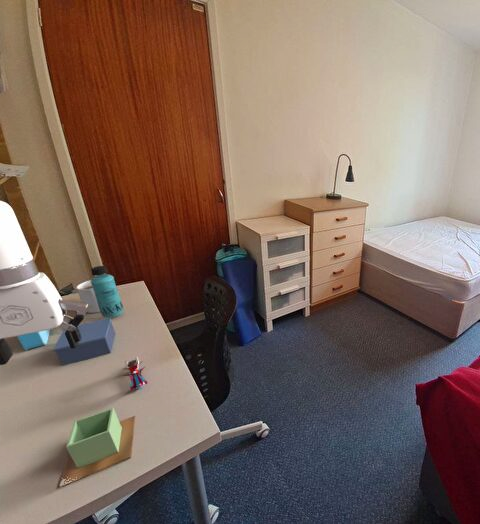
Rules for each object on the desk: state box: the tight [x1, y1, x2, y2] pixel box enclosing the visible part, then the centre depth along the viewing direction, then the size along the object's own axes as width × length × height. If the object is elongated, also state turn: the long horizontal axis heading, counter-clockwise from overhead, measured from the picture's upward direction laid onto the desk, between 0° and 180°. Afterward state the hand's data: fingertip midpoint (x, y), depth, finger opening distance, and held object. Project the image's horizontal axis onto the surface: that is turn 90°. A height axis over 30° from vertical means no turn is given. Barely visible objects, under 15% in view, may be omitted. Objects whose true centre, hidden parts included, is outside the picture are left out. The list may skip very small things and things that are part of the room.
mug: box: [76, 279, 101, 314], centre depth 107 cm, size 11×10×10 cm
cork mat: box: [60, 415, 136, 484], centre depth 60 cm, size 11×11×1 cm
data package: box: [16, 329, 51, 351], centre depth 88 cm, size 12×4×12 cm, turn 39°
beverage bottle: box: [89, 265, 124, 319], centre depth 100 cm, size 6×7×20 cm
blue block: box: [52, 317, 116, 367], centre depth 87 cm, size 11×11×6 cm
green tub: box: [65, 407, 122, 469], centre depth 58 cm, size 6×6×6 cm
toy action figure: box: [122, 356, 149, 392], centre depth 76 cm, size 5×12×6 cm, turn 42°
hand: (42, 351), depth 55 cm, fingers open, 9 cm apart
